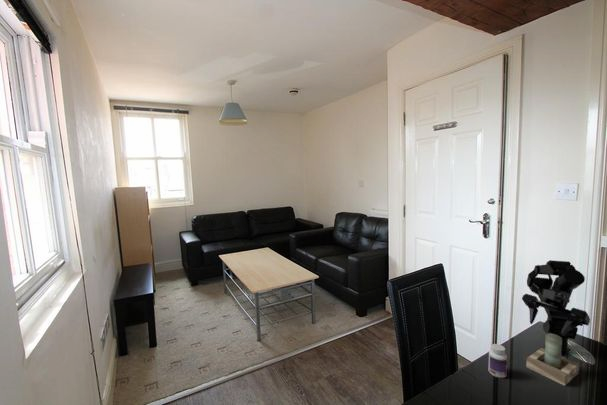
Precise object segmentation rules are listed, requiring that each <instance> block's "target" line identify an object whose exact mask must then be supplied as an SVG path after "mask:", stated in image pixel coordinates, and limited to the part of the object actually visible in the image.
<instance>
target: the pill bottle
mask: <svg viewBox="0 0 607 405" xmlns="http://www.w3.org/2000/svg"><path fill="white" fill-rule="evenodd" d="M487 368H488V372H489V374H491V375H492V376H493V377H495V378H501V379H502V378H506V377H507V374H508V373H507V372H508V355H507V353H506V348H505V346H503V345H502V344H498V343H492V344H491V349H490V350H489V351H488V367H487Z"/></svg>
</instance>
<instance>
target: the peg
mask: <svg viewBox="0 0 607 405" xmlns="http://www.w3.org/2000/svg"><path fill="white" fill-rule="evenodd" d="M544 346H545V348H544V350H545V356H544V362H543V363H545V364H548V365H550V366H552V367H554V368H557V369H559V370H561V369H560V366H561V357H562V355H561V350H562V338H561V337H560V336H558V335H555V334H551V333H548V334H546V333H545V342H544Z"/></svg>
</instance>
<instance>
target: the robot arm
mask: <svg viewBox="0 0 607 405" xmlns="http://www.w3.org/2000/svg"><path fill="white" fill-rule="evenodd" d="M538 275H541V276H542V275H543V276H547V277H538ZM552 276H556V277H555V278H554V280H553V278H552ZM585 278H586V277H585V275H584V274H583V273H582V272H580V271H579V270H577V269H576V267H575V266H574V265H573V264H572V263H571V262H570V261H568V260H566V261H565V260H551V259H550V260H548V261H547V262H546V264H537V265H535V266H534V268H533V270H532V271H530V272H529V273H528V275H527V278H526V285H527V287H528V288H529V290H530V291H531V292H532V293H533V294H535V295H537V296H535V295H532V294H528V293H525V294H522V297H521V300H522V302H523V303H524V304H525V306H527V308H528V310H529V323H530V324H531V325H533V324H534V322H535V320H536V317H537V315H538V313H539V310H538V309H539V308H544V311H545V313H546V315H547V317H546V320H545V321H544V322H543V324H542V330H543V331H544V333H545V335H546V334H548V333H551V334H555V335H558V336H560V337H561V338H562V350H561V356H562V357H565V356H566V355H568V354H569V353H570V352H571V351H572V349H571V348H569V346H568V343H569V339H571V340H576V337H577V334H578V329H579V328H578V326H580V327H583V326H589V325H590V322H591V318H590V316H589V314H588V312H587V311H586V310H583V309H580V308H575V307H572V308H571V309H567V306H568V303H570V301H571V296H572V293H573V290H575V289H577V288H579V287H580V286H582V285H583V283H584V282H585V280H586V279H585ZM543 347H544V348H543V349H545V345H544V346H543Z"/></svg>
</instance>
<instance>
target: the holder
mask: <svg viewBox="0 0 607 405" xmlns="http://www.w3.org/2000/svg"><path fill="white" fill-rule="evenodd" d="M544 356H545V348H542V347H541V348H539V349H538V350H536V351H534V353H532V354H530V355H528V357H526V366H525V367H526V368H527V369H529V370H531V371H534V372H535V373H537V374H539V375H541V376H543V377H546V378H548V379H550V380H552V381H554V382H556V383H558V384H560V385H562V386H564V387H565V386H567V384H569V383H570V382H571V381H572V380H573V379H574V378H575V377H576V376H577V375H578V374H579V370H580V369H579V366H580V363H577V362H575V361H573V360H571V359H568V358H566V357H565V356H561V366H560V370H559V369H557V368H554V367H552V366H550V365H548V364H545V363H544Z"/></svg>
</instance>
